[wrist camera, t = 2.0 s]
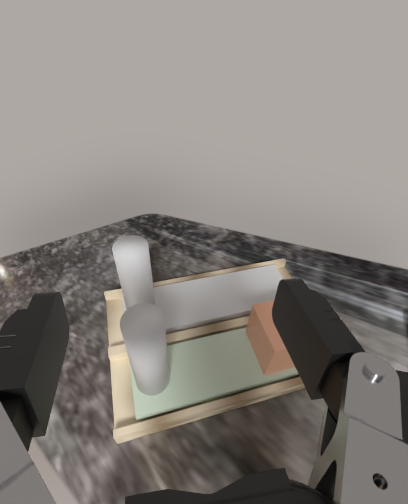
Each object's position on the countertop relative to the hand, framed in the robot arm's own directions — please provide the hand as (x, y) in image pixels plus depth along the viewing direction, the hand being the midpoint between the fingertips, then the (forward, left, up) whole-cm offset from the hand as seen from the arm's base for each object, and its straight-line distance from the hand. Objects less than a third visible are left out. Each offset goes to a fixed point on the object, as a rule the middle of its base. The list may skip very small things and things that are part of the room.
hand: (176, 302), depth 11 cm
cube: (-12, -6, -20) cm, 24 cm away
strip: (-7, -14, -21) cm, 26 cm away
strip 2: (-7, -6, -21) cm, 23 cm away
